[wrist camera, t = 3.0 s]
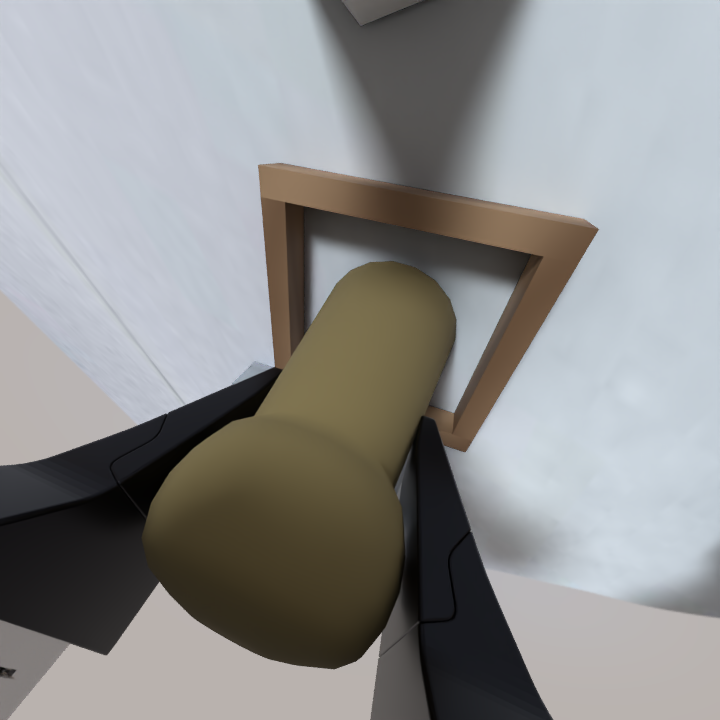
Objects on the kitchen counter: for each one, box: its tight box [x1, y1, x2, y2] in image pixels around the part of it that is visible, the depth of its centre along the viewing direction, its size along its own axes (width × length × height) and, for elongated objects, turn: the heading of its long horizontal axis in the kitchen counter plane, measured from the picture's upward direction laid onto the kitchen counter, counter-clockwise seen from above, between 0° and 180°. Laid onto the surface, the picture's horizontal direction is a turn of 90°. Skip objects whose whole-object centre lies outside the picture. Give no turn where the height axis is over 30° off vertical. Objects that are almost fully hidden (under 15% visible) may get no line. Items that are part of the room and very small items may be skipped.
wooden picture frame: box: [258, 163, 599, 452], centre depth 13 cm, size 11×11×2 cm
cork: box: [142, 261, 456, 669], centre depth 9 cm, size 6×6×11 cm
